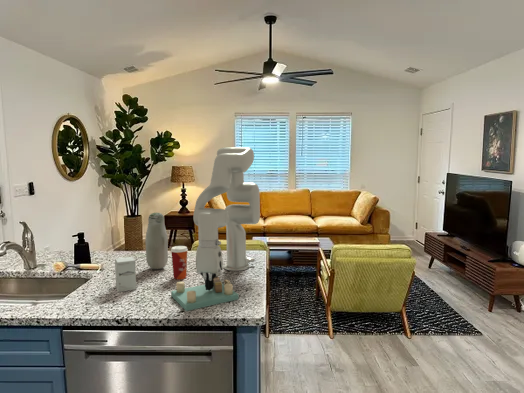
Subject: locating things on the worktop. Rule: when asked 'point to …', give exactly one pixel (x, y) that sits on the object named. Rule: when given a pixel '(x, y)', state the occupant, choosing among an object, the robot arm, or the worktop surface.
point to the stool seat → (202, 295)
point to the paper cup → (179, 261)
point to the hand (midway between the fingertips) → (209, 289)
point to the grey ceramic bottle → (156, 242)
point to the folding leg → (217, 285)
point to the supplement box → (125, 274)
